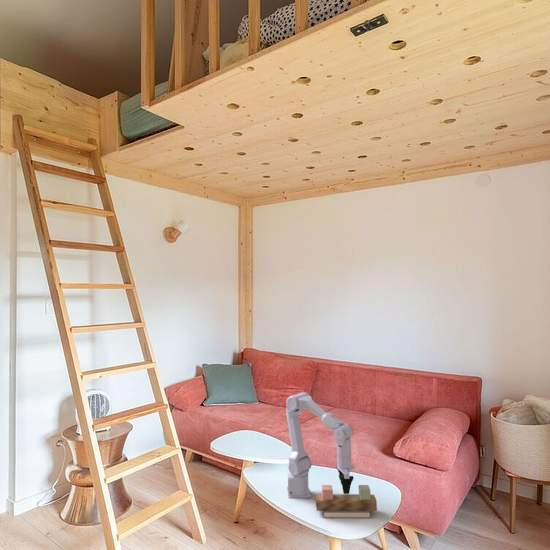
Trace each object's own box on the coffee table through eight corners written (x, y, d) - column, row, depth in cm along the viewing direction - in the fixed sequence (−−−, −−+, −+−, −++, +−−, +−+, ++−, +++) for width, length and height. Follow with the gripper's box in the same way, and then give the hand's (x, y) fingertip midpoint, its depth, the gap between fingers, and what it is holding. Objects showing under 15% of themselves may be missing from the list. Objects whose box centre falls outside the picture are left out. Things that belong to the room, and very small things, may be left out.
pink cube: (323, 499, 162) (322, 489, 162) (322, 494, 166) (321, 485, 166) (332, 499, 162) (332, 489, 162) (331, 494, 166) (331, 485, 166)
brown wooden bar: (316, 510, 161) (316, 500, 161) (315, 504, 166) (315, 494, 166) (376, 510, 160) (376, 500, 160) (374, 504, 165) (373, 494, 165)
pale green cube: (360, 499, 161) (360, 489, 161) (358, 494, 165) (358, 485, 165) (370, 499, 161) (370, 489, 161) (368, 494, 165) (368, 484, 165)
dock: (324, 517, 160) (324, 512, 160) (322, 507, 167) (322, 502, 167) (369, 517, 159) (369, 512, 159) (366, 507, 166) (366, 503, 166)
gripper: (356, 462, 157) (357, 497, 156) (351, 447, 171) (352, 480, 171) (338, 462, 157) (339, 497, 157) (334, 448, 172) (335, 480, 171)
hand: (345, 488), depth 164 cm, fingers open, 7 cm apart
